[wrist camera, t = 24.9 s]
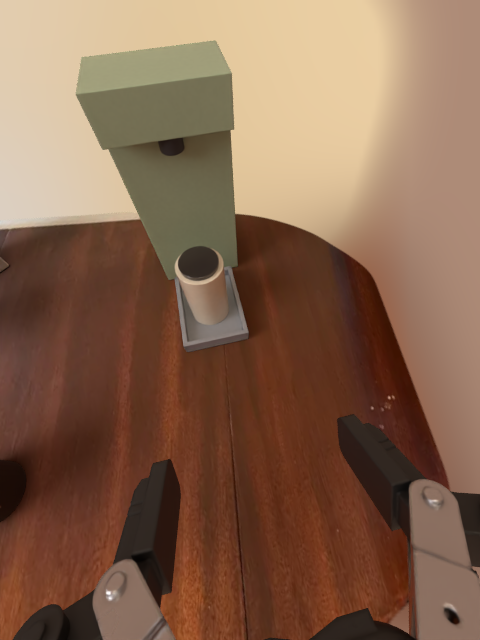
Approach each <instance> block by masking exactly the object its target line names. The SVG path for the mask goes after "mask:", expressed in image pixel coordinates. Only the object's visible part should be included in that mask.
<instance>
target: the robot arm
mask: <svg viewBox="0 0 480 640" xmlns="http://www.w3.org/2000/svg"><path fill="white" fill-rule="evenodd" d="M337 423H338V437H339V446H340V449H341V452H342V454H343V456H344V458H345V459H346V461H347V462H348V464H349V466H350V467H351V469H352V470H353V472H354V473H355V475H356V476H357V478H358V479H359V481H360V483H361V484H362V486H363V487H364V489H365V490H366V492H367V493H368V495H369V496H370V498H371V500H372V501H373V503H374V504H375V506H376V507H377V509H378V510H379V512H380V513H381V515H382V517H383V518H384V520H385V521H386V523H387V524H388V526H389V527H390V529H391V530H392V531H393V530H397V529H400V528H401V529H402V530H403V532H404V533H405V535H406V536H407V559H408V587H409V634H408V633H406V632H404V631H403V630H401V629H399V628H397V627H395V626H392V625H390V624H387V623H384V622H380V621H373V619H372V616H371V614H370V612H369V610H368V608H366V609H363V610H360V611H356V612H353V613H350V614H347V615H343V616H340V617H337V618H335V619H334V620H333V621H332V622H331V623H329V624H328V625H327V626H326V627H324V628H323V629H322V630H321V631H320V632H318V633H317V634H316V635H315V636H313V637H312V638H311V639H309V640H480V579H479V576H478V574H477V572H476V571H474V570H473V569H472V566H475V567H480V494H468V493H456V492H451V491H449V490H448V489H447V488H445V487H444V486H442V485H440V484H439V483H436V482H434V481H431V480H427V479H426V478H425V477H424V476H423V475H422V474H421V473H420V472H419V471H418V470H417V469H416V468H415V466H414V465H413V464H412V463H411V462H410V461H409V460H408V459H407V458H406V457H405V456H404V455H403V454H402V453H401V451H400V450H399V449H398V448H396V446H395V445H394V444H393V443H392V442H391V441H389V439H388V438H387V436H386V435H385V434H384V433H383V432H382V431H381V430H380V429H378V428H376V427H375V426H373V425H371V424H370V423H366V424H362V422H361V421H360V420H359V419H358V418H357V417H356V416H355V415H354V414H352V415H348V416H344V417H340V418H338V419H337ZM180 499H181V493H180V485H179V482H178V479H177V476H176V473H175V470H174V467H173V464H172V461H171V460H170V459H168V460H164V461H160V462H156V463H153V465H152V467H151V472H150V476H149V478H145V479H142V480H141V482H140V483H139V485H138V486H137V488H136V489H135V491H134V494H133V497H132V501H131V506H130V507H129V511H128V514H127V515H128V517H127V518H126V521H125V525H124V528H123V532H122V535H121V539H120V542H119V546H118V549H117V553H116V556H115V560H114V563H113V565H112V566H111V567H110V568H109V569H108V570H107V571H106V572H105V573H104V575H103V576H102V577H101V579H100V580H99V582H98V584H97V586H96V588H95V589H94V590H93V591H92V592H91V593H89V594H88V595H86V596H85V597H83V598H82V599H80V600H79V601H77V602H76V603H74V604H72V605H71V606H69V607H68V608H66V609H65V610H62V609H61V607H60V606H58V605H56V604H51V605H48V606H45V607H43V608H42V609H40V610H38V611H37V612H36V613H34V614H33V615H32V616H31V617H30V618H29V619H28V620H27V621H26V622H25V623H24V624H23V626H22V627H21V628H20V630H19V631H18V632H17V634H16V635H15V637H14V639H13V640H176V639H175V637H174V635H173V633H172V631H171V629H170V627H169V625H168V623H167V622H166V620H165V618H164V616H163V614H162V613H161V611H160V605H161V597H162V595H164V594H168V593H171V591H172V581H173V571H174V561H175V550H176V540H177V530H178V520H179V509H180ZM265 640H288V639H278V638H268V639H265Z"/></svg>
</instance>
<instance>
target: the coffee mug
mask: <svg viewBox="0 0 480 640" xmlns="http://www.w3.org/2000/svg"><path fill="white" fill-rule="evenodd" d="M25 487H26V475H25V472H24V469H23V468H22V466H21V465H19V464H18V463H16V462H13V461H5V460H0V522H1V521H3V520H4V519H5V518H7V517H8V516H9V515H10V514H11V513H12V512H13V511H14V510H15V508H16V507H17V506H18V504H19V502H20V501H21V499H22V496H23V494H24V491H25Z"/></svg>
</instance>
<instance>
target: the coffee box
mask: <svg viewBox="0 0 480 640" xmlns="http://www.w3.org/2000/svg"><path fill="white" fill-rule="evenodd" d="M8 266H9V265H8V264H7V263H6V262H5V261H4V260H3V259H2V258H1V257H0V272H1V271H2V270H4V269H5V268H7V267H8Z"/></svg>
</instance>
